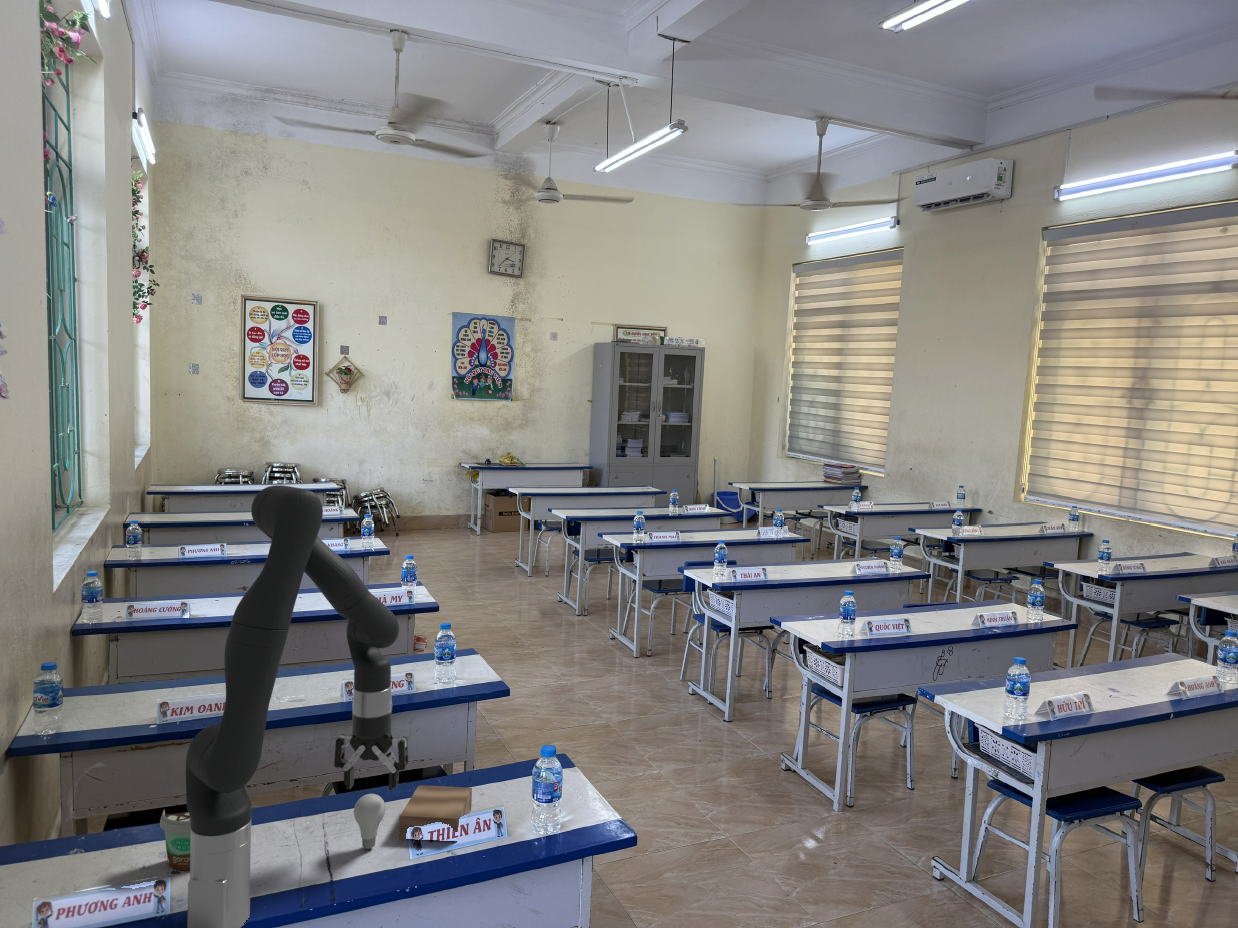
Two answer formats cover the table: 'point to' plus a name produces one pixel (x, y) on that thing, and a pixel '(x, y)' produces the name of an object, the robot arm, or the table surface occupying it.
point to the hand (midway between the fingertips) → (371, 787)
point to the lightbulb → (369, 817)
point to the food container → (177, 839)
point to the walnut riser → (435, 807)
